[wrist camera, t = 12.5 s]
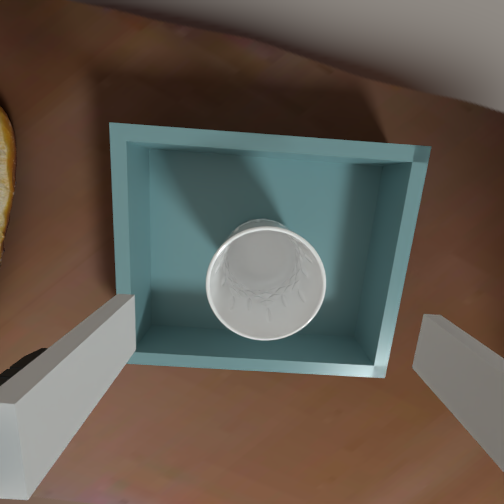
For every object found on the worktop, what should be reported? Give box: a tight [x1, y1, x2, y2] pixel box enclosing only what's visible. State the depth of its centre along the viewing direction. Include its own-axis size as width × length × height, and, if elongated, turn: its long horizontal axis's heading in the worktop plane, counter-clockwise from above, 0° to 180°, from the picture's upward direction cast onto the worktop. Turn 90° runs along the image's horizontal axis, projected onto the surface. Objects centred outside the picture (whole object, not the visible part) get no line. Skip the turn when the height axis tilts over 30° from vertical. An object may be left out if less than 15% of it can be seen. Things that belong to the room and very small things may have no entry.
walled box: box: [109, 122, 431, 378], centre depth 26 cm, size 24×20×6 cm
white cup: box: [206, 218, 326, 340], centre depth 24 cm, size 8×8×10 cm
